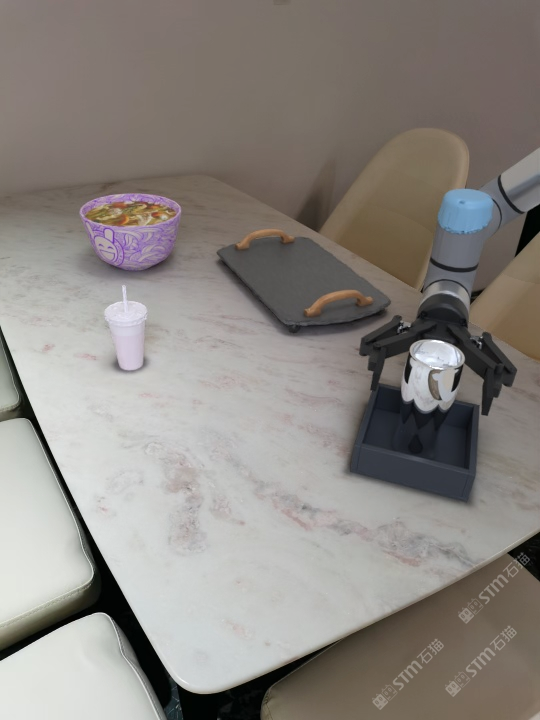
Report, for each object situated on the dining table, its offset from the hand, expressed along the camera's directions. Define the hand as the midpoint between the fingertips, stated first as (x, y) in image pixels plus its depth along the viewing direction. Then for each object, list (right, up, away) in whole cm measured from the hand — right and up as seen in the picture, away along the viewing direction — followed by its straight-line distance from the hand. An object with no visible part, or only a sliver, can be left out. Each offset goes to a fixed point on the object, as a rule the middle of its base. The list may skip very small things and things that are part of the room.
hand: (429, 394), depth 73 cm
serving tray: (-14, +19, +47) cm, 53 cm away
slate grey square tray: (0, -8, +8) cm, 11 cm away
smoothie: (-41, +3, +22) cm, 47 cm away
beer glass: (0, -8, +7) cm, 11 cm away
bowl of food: (-48, +25, +53) cm, 76 cm away
